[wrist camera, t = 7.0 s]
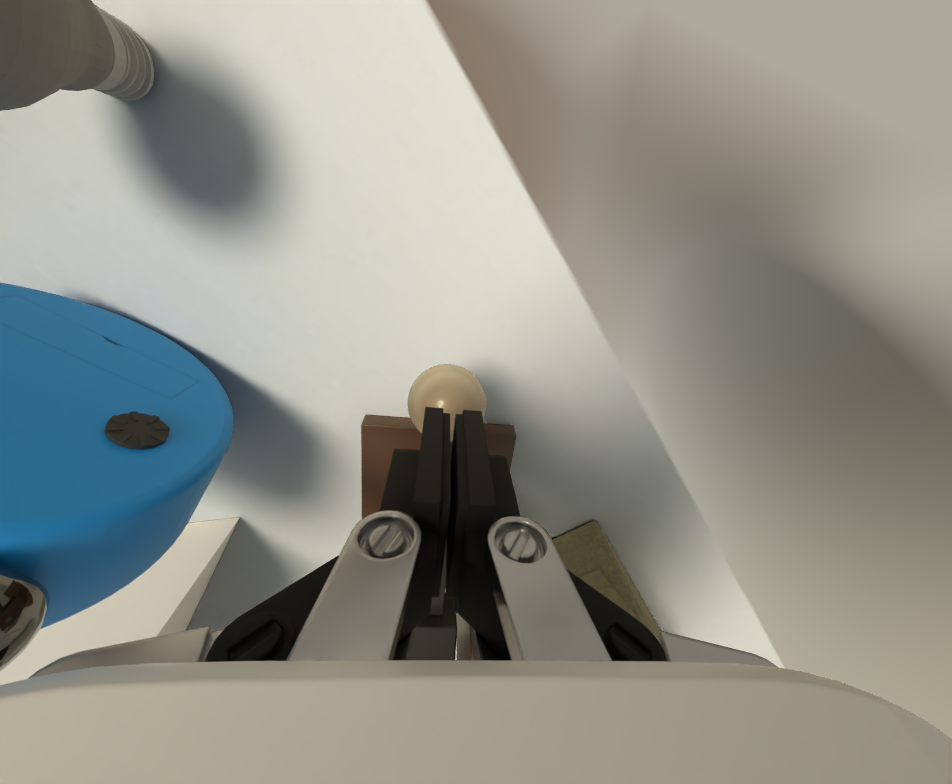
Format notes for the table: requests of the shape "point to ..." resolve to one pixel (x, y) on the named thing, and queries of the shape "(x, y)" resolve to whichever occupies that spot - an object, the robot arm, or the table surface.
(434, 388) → the lever
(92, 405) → the alarm clock
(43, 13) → the light bulb
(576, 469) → the table surface
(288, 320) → the table surface
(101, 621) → the block
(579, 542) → the tissue box
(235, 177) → the table surface
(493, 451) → the bracket
